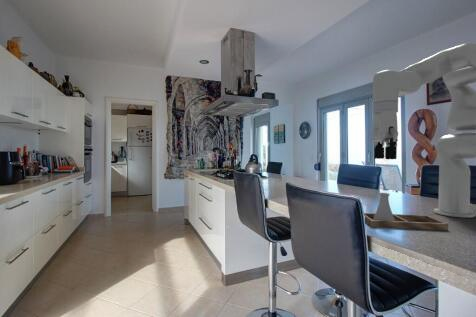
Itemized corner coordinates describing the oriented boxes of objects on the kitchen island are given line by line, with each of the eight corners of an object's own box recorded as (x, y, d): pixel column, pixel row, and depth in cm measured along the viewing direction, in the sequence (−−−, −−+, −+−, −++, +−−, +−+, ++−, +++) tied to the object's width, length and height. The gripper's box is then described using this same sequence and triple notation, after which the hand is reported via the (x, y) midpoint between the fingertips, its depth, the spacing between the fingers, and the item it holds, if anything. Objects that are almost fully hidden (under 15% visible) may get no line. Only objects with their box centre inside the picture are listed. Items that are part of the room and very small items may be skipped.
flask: (399, 225, 85) (400, 195, 85) (375, 224, 87) (376, 194, 87) (391, 220, 92) (392, 192, 92) (369, 219, 94) (369, 191, 94)
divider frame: (427, 220, 93) (427, 215, 93) (448, 230, 81) (448, 223, 81) (360, 218, 96) (360, 212, 96) (371, 226, 85) (371, 220, 85)
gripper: (365, 112, 98) (364, 158, 98) (383, 104, 81) (382, 159, 81) (386, 112, 97) (386, 158, 97) (409, 103, 80) (409, 159, 80)
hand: (384, 158), depth 89 cm, fingers open, 9 cm apart
